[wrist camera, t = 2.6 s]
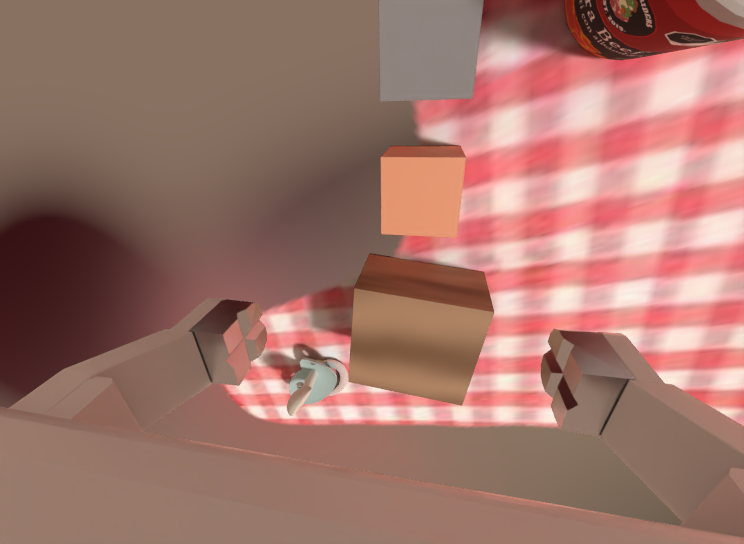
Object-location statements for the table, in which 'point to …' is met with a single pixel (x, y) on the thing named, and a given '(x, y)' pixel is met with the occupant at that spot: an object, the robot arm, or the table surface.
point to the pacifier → (315, 382)
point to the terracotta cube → (421, 190)
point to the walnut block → (418, 327)
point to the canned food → (652, 25)
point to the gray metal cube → (428, 48)
